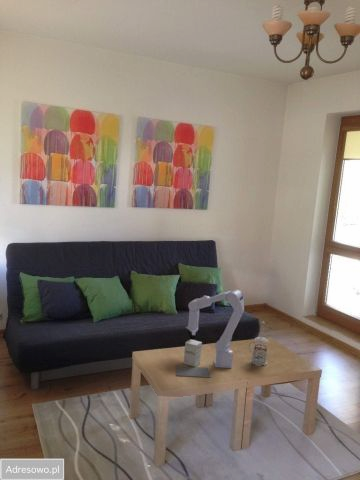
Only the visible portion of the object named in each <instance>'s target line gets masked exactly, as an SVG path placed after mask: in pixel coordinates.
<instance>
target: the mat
mask: <svg viewBox="0 0 360 480" xmlns="http://www.w3.org/2000/svg"><path fill="white" fill-rule="evenodd" d="M175 369H176V371H175V373H176V377H188V378H189V377H190V378H191V377H192V378H206V379H208V378H211V373H210V368H209V367H202V366H195V367H194V366H188V365H187V366H185V365H183V366H182V365H176V366H175Z"/></svg>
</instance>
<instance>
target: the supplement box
mask: <svg viewBox="0 0 360 480" xmlns="http://www.w3.org/2000/svg"><path fill="white" fill-rule="evenodd" d="M184 343H185V344H184V355H183V364H184V365H187V366H189V367H198V365H200V364H201V356H202V347H203V346H202V345H203V342H202V341H199V340H196V339H195V340H192V339H190V338H189V340H187V341H185V342H184Z"/></svg>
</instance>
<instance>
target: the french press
mask: <svg viewBox="0 0 360 480" xmlns="http://www.w3.org/2000/svg"><path fill="white" fill-rule="evenodd" d="M265 324H266V323H265V321H261V325H265ZM261 329H262V330H261V332H263V331H264V326H262V328H261ZM253 339H254V340H252V341H250V342H249V344H248V350H249V352H250V353H251V354H252V357H251V358H252V359H251V360H250V363H251V362H252V363H253V364H252V363H251V364H252V365H254V364H255V365H254V366H257V365H260V366H259V367H262V366H261V365H266V364H267V365H268V362H267V355H268V349H267V348H268V347H267V346H266V345H264V344H268V343H269V340H268V339H267V338H266V337H263V336H257V337H255V338H253ZM252 343H253V344H254V347H253V350H251V347H250V346H251V344H252ZM255 343H256V344H255ZM257 343H258V344H257ZM267 365H266V366H267Z"/></svg>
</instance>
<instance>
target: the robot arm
mask: <svg viewBox="0 0 360 480" xmlns="http://www.w3.org/2000/svg"><path fill="white" fill-rule="evenodd" d="M244 299H245V297H244V295H243V292H242V291H241V290H240V289H234V290H229V291H224V292H222V293H220V294H216V295H212V296H209V295H203V296H202V297H200V298H195V299H193V300H191V301H190V302H189V303H187V304H188V305H187V306H188V309H189V310H188V311H189V312H188V323H187V324H188V325H187V326H185V328H186V329H187V334H188V336H189V337H188V338H189V340H190V339H192V340H196V337H197V335H198V333H199V332H198V331H199V322H200V320H199V319H200V309H204V308H207V307H211V305H212V303H215V302H217V303H218V302H221V301H224V302H226V303H228V304H229V305H230V306H231V307H232V309H233V312H232V314H231V316H230V318H229V320H228V321H227V322H228V323H227V324H226V327H225V329H224V331H223V333H222V335H221V336H220V338H219V340H217V341H216V342H215V345H214V347H215V349H216V352H215V360H213V363H214V366H215V368H225V369H232V368H233V360H234V359H233V357H234V352H233V350H232V349H230V346H231V344H232V339H233V334H234V332H235V330H236V328H237V326H238V324H239V322H240V320H241V318H242V316H243V313H244V312H245V300H244Z"/></svg>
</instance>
